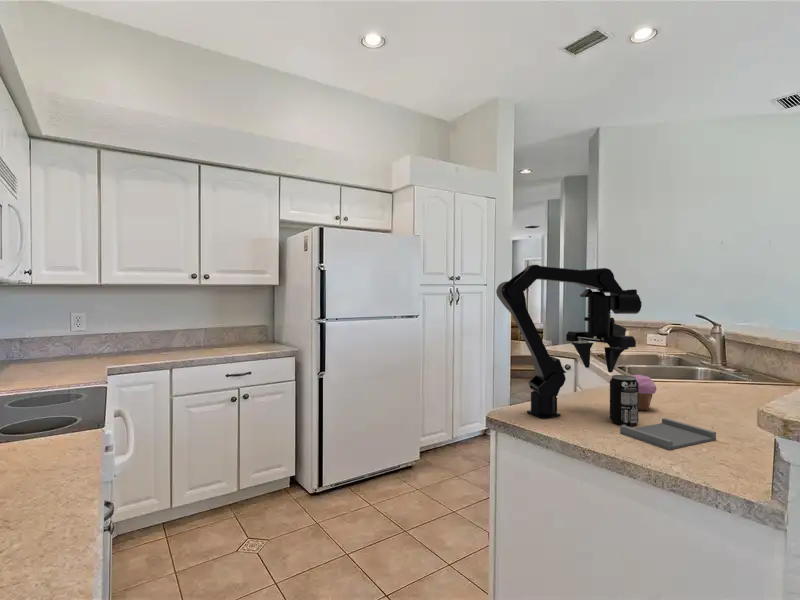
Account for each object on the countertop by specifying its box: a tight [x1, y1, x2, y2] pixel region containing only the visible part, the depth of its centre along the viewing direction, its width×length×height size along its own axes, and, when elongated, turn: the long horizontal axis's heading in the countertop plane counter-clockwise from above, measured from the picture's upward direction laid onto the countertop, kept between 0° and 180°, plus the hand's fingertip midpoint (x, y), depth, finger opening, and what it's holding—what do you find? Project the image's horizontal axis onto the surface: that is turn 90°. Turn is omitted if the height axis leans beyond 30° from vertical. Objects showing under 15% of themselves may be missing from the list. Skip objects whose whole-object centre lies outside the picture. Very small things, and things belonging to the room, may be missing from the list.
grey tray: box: [619, 417, 717, 451], centre depth 98 cm, size 16×12×2 cm
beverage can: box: [609, 374, 639, 427], centre depth 109 cm, size 7×7×12 cm
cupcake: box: [629, 374, 657, 411], centre depth 122 cm, size 9×9×10 cm
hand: (598, 369), depth 116 cm, fingers open, 7 cm apart
